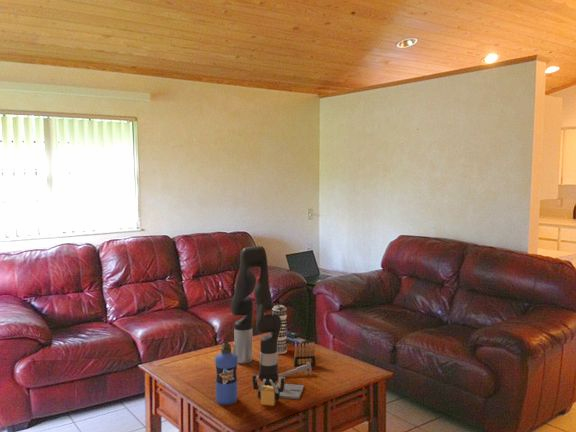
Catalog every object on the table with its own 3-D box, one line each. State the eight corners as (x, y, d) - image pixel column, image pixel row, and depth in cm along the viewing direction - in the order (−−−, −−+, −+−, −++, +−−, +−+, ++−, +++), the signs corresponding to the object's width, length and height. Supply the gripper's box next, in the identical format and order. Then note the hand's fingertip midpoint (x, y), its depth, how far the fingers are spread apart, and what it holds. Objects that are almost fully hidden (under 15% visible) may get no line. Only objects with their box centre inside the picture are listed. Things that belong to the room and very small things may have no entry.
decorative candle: (269, 348, 273) (269, 304, 271) (285, 347, 275) (285, 303, 273) (272, 354, 264) (272, 308, 262) (289, 353, 266) (289, 307, 264)
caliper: (310, 373, 240) (310, 361, 240) (311, 374, 239) (311, 361, 239) (270, 379, 234) (270, 366, 234) (270, 379, 233) (270, 366, 233)
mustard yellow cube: (260, 404, 208) (260, 390, 208) (264, 398, 214) (264, 384, 213) (273, 405, 207) (273, 391, 207) (276, 399, 213) (276, 386, 212)
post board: (258, 395, 216) (258, 383, 216) (265, 383, 228) (265, 372, 228) (298, 399, 213) (298, 386, 212) (303, 387, 224) (303, 375, 224)
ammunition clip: (314, 364, 251) (314, 341, 250) (315, 365, 249) (315, 342, 248) (293, 365, 250) (293, 342, 249) (294, 366, 248) (294, 343, 247)
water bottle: (238, 404, 209) (238, 346, 206) (216, 406, 207) (215, 347, 204) (236, 394, 218) (236, 338, 215) (215, 396, 216) (214, 340, 213)
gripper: (249, 363, 207) (250, 402, 208) (283, 366, 204) (283, 405, 205) (254, 357, 214) (254, 394, 215) (287, 359, 211) (287, 397, 212)
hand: (268, 399), depth 210 cm, fingers open, 6 cm apart
